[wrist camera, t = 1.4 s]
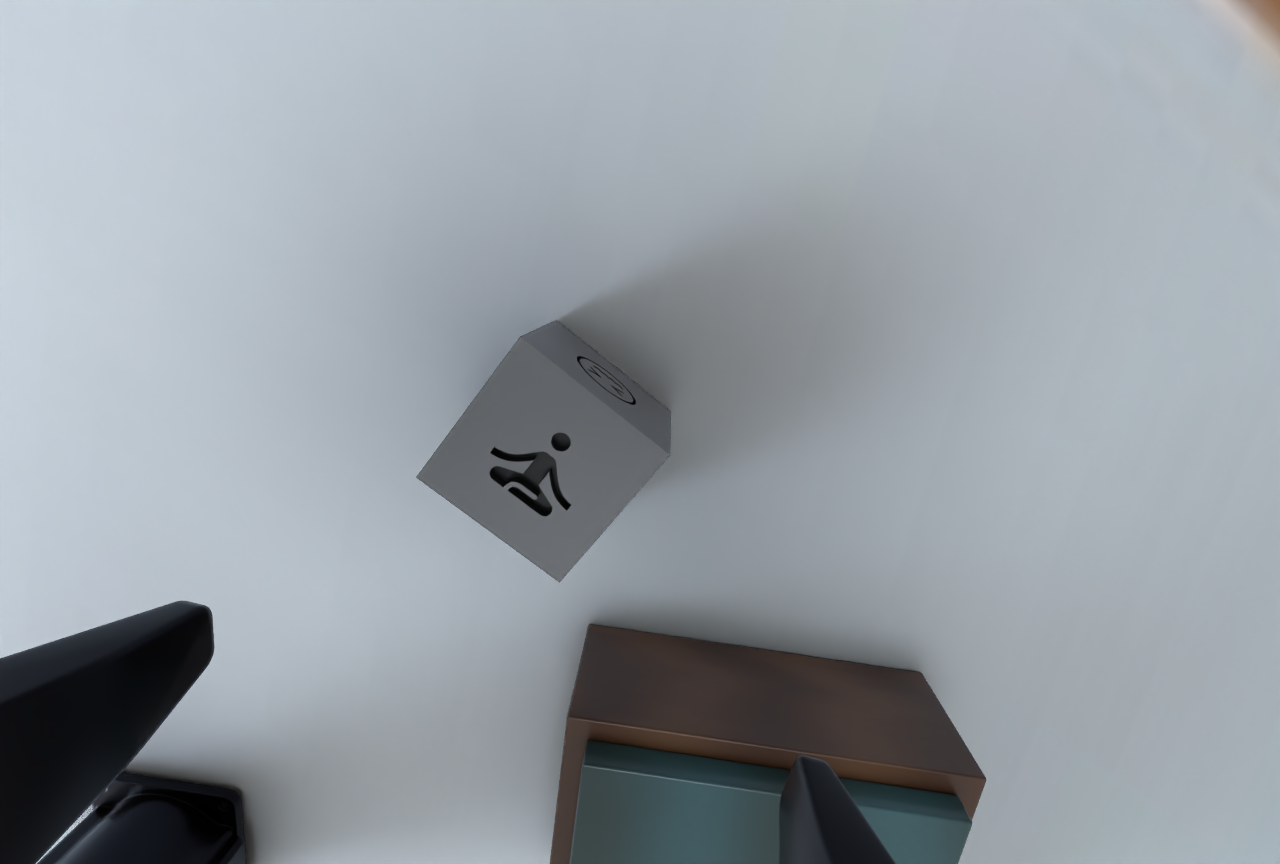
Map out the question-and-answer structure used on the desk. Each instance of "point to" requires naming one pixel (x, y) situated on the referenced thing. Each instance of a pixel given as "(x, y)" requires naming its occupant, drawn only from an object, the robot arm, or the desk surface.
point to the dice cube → (551, 449)
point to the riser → (748, 753)
